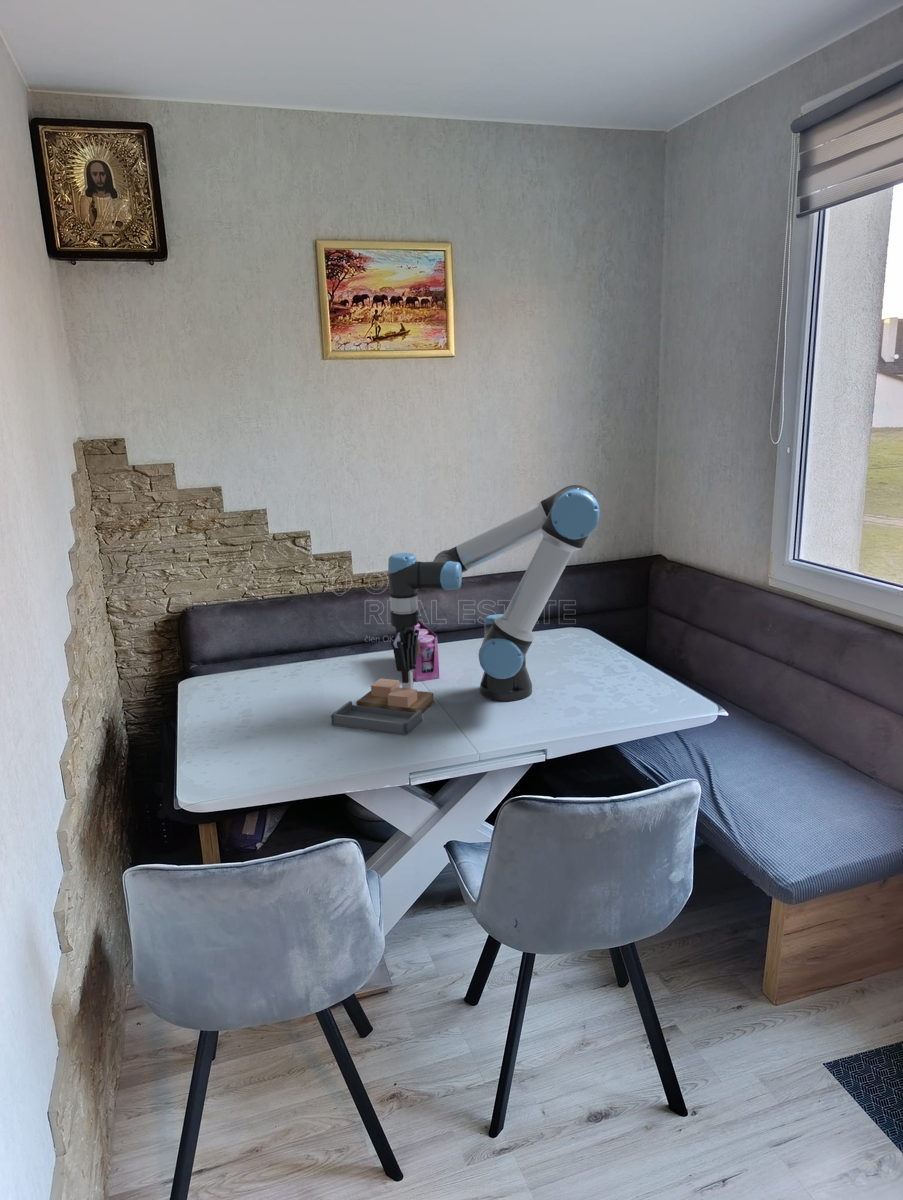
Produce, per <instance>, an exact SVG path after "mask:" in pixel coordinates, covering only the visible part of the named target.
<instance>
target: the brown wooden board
mask: <svg viewBox="0 0 903 1200" xmlns="http://www.w3.org/2000/svg"><path fill="white" fill-rule="evenodd" d="M434 700H435V699H434V692H429V691H419V690H417V701H415V702H414V703H413V704H412V705H411V706H410V707H408V708H405V707H398V706H390V705H388V697H379V696H372V695H371V690H370V691H367V693H365V694H364V695H363V696H361V697H360V698H359V699H358V700H357V701H356V705H358V706H366V707H374V708H382V709H390V710H398V711H406V712H414V713H416V712H417V711H418V710H422V714H423V713H424V712H425V711H427V710H428V709H429V708H430V707H431V706H432V705H433V704H434V703H435V701H434Z"/></svg>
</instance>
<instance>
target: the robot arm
mask: <svg viewBox="0 0 903 1200" xmlns="http://www.w3.org/2000/svg"><path fill="white" fill-rule="evenodd" d="M600 515H601V512H600V505H599V503H598V501H597V499H596V496H595V495H594V494H593V492H592V491H591V490H590V489H588V487H585V486H583V485H579V484H572V485H567V486H565V487H562V488H561V489H560V490H558V491H557V492H554V493H553V494H552V495H550V496H548V497H547V498H545V499H542V500H540V501H539V503H538V505H537V507H535V508H533V509H530V510H528V511H527V512H524V513H522V514H520V515H518V516H516V517H514V518H512V519H509V520H508V521H505V522H504V523H501V524H500V525H497V526H496V527H493V528H491V529H489V530H487V531H484V532H483V533H481V534H479V535H476V536H475V537H472V538H469V539H468V540H465V541H464V542H462V543H460V544H458V545H456V546H454V547H451V548H449V549H445V550H443V551H440V552H438V553H437V554H436V556H435V557H434V559H433V560H432V561H419V560H418V559H417V556H416V554H414V553H410V552H399V553H398V552H397V553H393V554H392V555H390V556H389V557H388V568H387V569H388V571H387V574H388V587H389V598H388V601H389V606H390V611H391V612H390V613H389V614H390V624H391V626H393V627H394V628H395V634H394V637H395V639H394V640H391V641H390V642H391V643H390V645H391V647H392V650H393V655H394V661H395V668H396V672H401V688H407V689H414V678H413V671H412V669H416V666H414V665H416V659H417V643H418V635H419V630H417V629H415V626H416V625H417V624H418V622H419V621H418V619H419V611H418V609H419V599H418V598H419V597H418V596H419V595H418V590H420V591H422V590H423V591H424V590H425V591H427V590H428V591H429V590H430V591H435V590H436V591H453V590H460V589H461V586H462V583H463V582H462V580H463V573H465V572H467V571H469V570H470V569H473V568H475V567H477V566H479V565H481V564H484V563H485V562H488V561H491V560H492V559H494V558H496V557H499V556H501V555H503V554H505V553H508V552H510V551H512V550H514V549H515V548H518V547H520V546H522V545H524V544H526V543H529V542H531V541H533V540H535V539H537V538H540V537H542V539H541V541H540V543H539V544H538V547H537V548H536V551H535V553H534V554H533V557H532V558H531V560H530V562H529V564H528V567H527V568H526V570H525V572H524V574H523V576H522V578H521V580H520V582H519V584H518V586H517V587H516V590H515V591H514V594H513V596H512V598H511V600H510V601H509V603H508V606H507V608H506V609H505V611H504V613H503V614H502V613H497V614H496V613H495V614H491V615H490V614H489V615H487V616H486V617H485V618H484V623H483V627H484V637H483V639H482V643H481V646H480V647H479V650H478V661H479V665H480V667H481V669H482V670H483V673H482V678H481V681H480V683H479V689H480V690H479V691H480V695H481V696H483V697H484V698H487V699H490V700H494V701H502V702H509V701H510V702H511V701H518V700H523V699H525V698H528V697H529V696H530V695H531V694H532V693H533V683H532V680H531V677H530V674H529V672H528V668H527V664H526V663H527V661H526V659H527V658H526V657H527V656H526V655H527V652H529V649H530V647H531V645H532V643H533V642H534V640H535V637H534V634H533V629H534V627H535V625H536V624H537V622H538V619H539V617H541V614H542V612H543V610H544V608H545V606H546V605H547V602H548V601H549V598H550V597H551V595H552V593H553V591H554V589H555V588H556V585H557V584H558V582H559V580H560V578H561V576H562V575H563V572H564V570H565V568H566V566H567V564H568V563H569V560H570V558H571V557H572V556H573V553H574V552H576V551H579V550H582V548H583V547H584V545H585V544H586V541H587V539H588V538H589V535H590V534H591V533H593V532H594V530H595V529H596V528H597V525H598V524H599V521H600V518H601V517H600Z"/></svg>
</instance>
